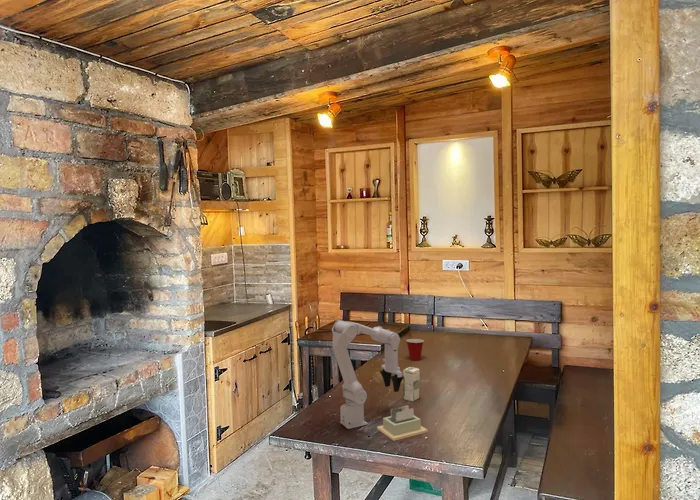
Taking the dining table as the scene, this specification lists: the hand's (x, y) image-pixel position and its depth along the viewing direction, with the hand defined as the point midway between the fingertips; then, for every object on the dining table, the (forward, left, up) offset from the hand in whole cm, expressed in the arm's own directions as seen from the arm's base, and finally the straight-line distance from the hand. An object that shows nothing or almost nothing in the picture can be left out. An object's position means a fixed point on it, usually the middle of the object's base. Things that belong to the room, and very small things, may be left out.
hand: (392, 388), depth 230 cm
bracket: (-7, -19, -9) cm, 22 cm away
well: (-7, -19, -10) cm, 23 cm away
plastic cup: (+54, +63, -11) cm, 84 cm away
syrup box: (+16, +9, -11) cm, 21 cm away
